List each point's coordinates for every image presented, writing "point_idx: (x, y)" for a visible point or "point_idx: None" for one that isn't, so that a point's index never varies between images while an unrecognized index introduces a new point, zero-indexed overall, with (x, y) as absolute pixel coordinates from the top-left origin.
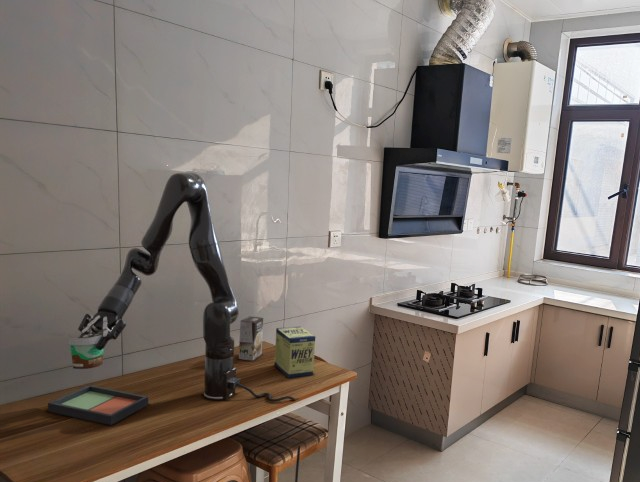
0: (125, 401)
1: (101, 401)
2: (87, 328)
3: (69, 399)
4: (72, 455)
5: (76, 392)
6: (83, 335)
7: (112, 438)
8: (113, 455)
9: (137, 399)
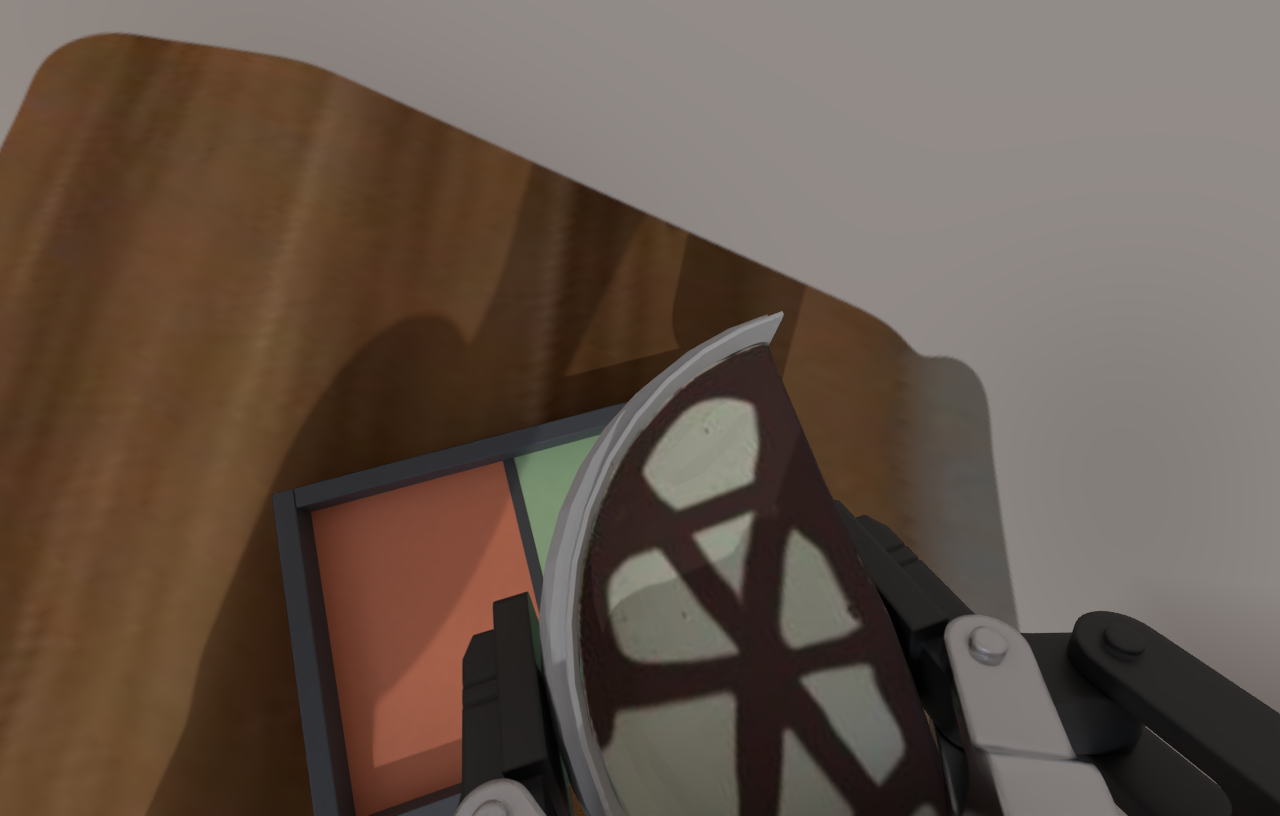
0: (459, 733)
1: None
2: (996, 720)
3: None
4: (197, 233)
5: None
6: (852, 576)
7: (169, 421)
8: (26, 327)
9: (403, 804)
